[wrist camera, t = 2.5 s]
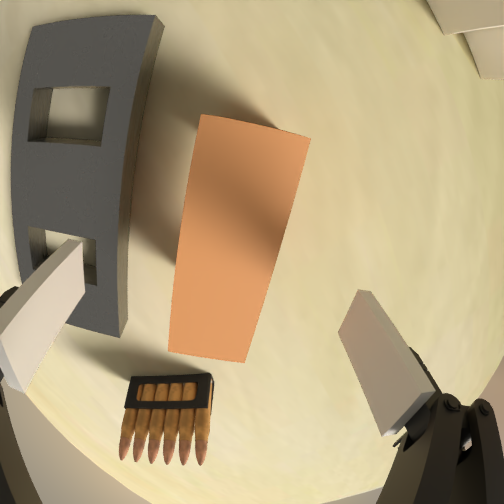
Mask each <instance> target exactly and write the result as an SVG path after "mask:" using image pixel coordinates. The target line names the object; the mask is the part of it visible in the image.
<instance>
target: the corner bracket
mask: <svg viewBox="0 0 504 504" xmlns="http://www.w3.org/2000/svg"><path fill="white" fill-rule="evenodd" d="M427 2H428V4H429V6H430V8H431V10H432V12H433V13H434V15H435V17H436V19H437V21H438V23H439V25H440V28H441V30H442V32H443V34H444V35H449V34H456V33H464V35H465V38H466V40H467V42H468V45H469V47H470V50H471V52H472V55H473V57H474V60H475V63H476V66H477V69H478V71H479V74H480V77H481V79H496V80H504V0H427Z"/></svg>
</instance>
